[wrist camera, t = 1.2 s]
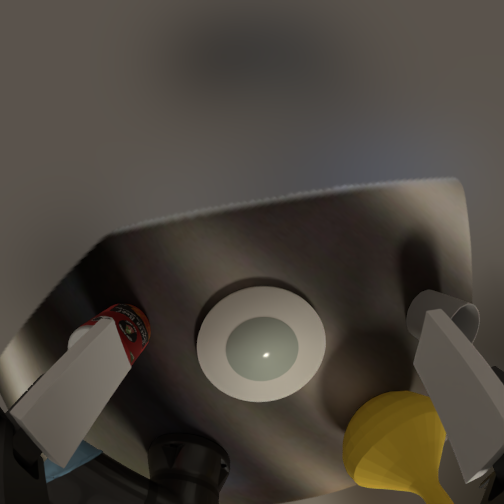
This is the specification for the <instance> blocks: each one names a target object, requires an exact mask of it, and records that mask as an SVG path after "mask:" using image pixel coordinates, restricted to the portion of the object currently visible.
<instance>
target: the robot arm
mask: <svg viewBox="0 0 504 504" xmlns="http://www.w3.org/2000/svg"><path fill="white" fill-rule="evenodd" d="M413 365H414V367H415V369H416V371H417V373H418V375H419V376H420V378H421V380H422V382H423V384H424V386H425V388H426V390H427V392H428V394H429V397H430V399H431V401H432V403H433V405H434V407H435V409H436V411H437V413H438V416H439V418H440V420H441V422H442V425H443V427H444V429H445V431H446V434H447V436H448V439H449V441H450V443H451V446H452V448H453V451H454V453H455V456H456V458H457V461H458V463H459V466H460V469H461V472H462V474H463V478H464V480H465V483H468V482H471V481H473V480H474V479H476V478H478V477H480V476H482V475H484V474H485V473H486V472H487V471H488V470H489V469H490V468H491V467H492V466H493V468H494V470H495V471H494V472H493V473H492V474H490V475H489V476H488V477H487V478H486V479H485V480H484V481H483V482H482V483H481V485H480V486H479V488H482V487H483V486H484V485H485V484H486V483H488V485H487V486H486V487H485V489H486V491H485V493H484V496H483V499H482V501H481V504H504V372H503V371H502V370H500V369H499V368H497V367H496V366H493V367H490V366H489V365H488V363H487V362H486V361H485V360H484V358H483V357H482V356H481V354H480V353H479V352H478V351H477V349H476V348H475V347H474V346H473V345H472V343H471V342H470V341H469V340H468V339H467V337H466V336H465V335H464V334H463V333H462V331H461V330H460V329H459V328H458V327H457V326H456V325H455V323H454V322H453V321H452V320H451V319H450V318H449V317H448V316H447V315H446V313H445V312H444V311H443V310H442V309H436V310H429V311H426V315H425V320H424V324H423V328H422V333H421V337H420V340H419V344H418V348H417V351H416V355H415V358H414V362H413ZM130 369H131V365H130V363H129V360H128V358H127V355H126V353H125V350H124V347H123V345H122V342H121V339H120V336H119V334H118V331H117V328H116V325H115V322H114V320H112V319H100V320H99V321H98V322H97V323H96V324H95V325H94V326H93V327H92V328H91V329H90V330H88V331H87V332H86V333H85V334H84V335H83V336H82V337H81V338H80V339H79V340H78V341H77V342H76V343H75V344H74V345H73V346H72V347H71V348H70V349H69V350H68V351H67V352H66V353H65V354H64V355H63V356H62V357H61V358H60V359H59V360H58V361H57V362H56V363H55V364H54V365H53V366H52V367H51V368H50V369H49V370H48V371H47V372H46V373H44V374H43V375H41V376H40V377H39V378H38V379H37V380H36V381H35V382H34V383H33V385H31V386H30V387H29V388H28V391H26V392H25V393H24V394H23V395H22V396H21V397H20V398H19V399H18V400H17V401H16V402H15V404H14V405H13V406H12V407H11V408H10V409H9V410H8V411H7V412H6V413H4V412H3V410H2V409H1V408H0V504H219V492H220V491H221V489H222V487H223V485H224V483H225V481H226V479H227V477H228V475H229V472H230V459H229V456H228V454H227V453H226V452H225V450H224V449H223V448H221V447H220V446H219V445H217V444H216V443H214V442H212V441H210V440H208V439H206V438H203V437H200V436H196V435H192V434H185V433H172V434H166V435H163V436H160V437H158V438H157V439H155V440H154V441H153V442H152V444H151V446H150V449H149V452H148V465H149V473H150V479H148V478H146V477H144V476H142V475H140V474H138V473H136V472H135V471H133V470H131V469H129V468H127V467H126V466H124V465H122V464H121V463H119V462H117V461H116V460H114V459H112V458H111V457H109V456H108V455H106V454H104V453H103V451H102V450H98V449H97V448H95V447H93V446H92V445H90V444H89V443H87V442H86V441H84V440H83V438H84V437H85V435H86V434H87V432H88V431H89V429H90V428H91V426H92V424H93V423H94V421H95V420H96V418H97V417H98V415H99V414H100V412H101V411H102V410H103V408H104V407H105V405H106V404H107V402H108V401H109V399H110V398H111V396H112V395H113V393H114V392H115V390H116V389H117V387H118V386H119V385H120V383H121V382H122V380H123V379H124V377H125V376H126V374H127V373H128V372H129V370H130ZM42 452H43V453H44V454H45V455H46V457H47V460H46V461H45V462H44V461H43V458H42V457H41V456H40V455H41V453H42Z"/></svg>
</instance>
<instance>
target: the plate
mask: <svg viewBox="0 0 504 504" xmlns="http://www.w3.org/2000/svg"><path fill="white" fill-rule="evenodd" d="M325 346H326V338H325V331H324V327H323V324H322V322H321V319H320V318H319V316H318V314H317V313H316V311H315V310H314V309H313V308H312V307H311V305H310V304H309V303H307V302H306V301H305V300H304V299H303V298H301V297H300V296H299V295H297V294H295V293H293V292H291V291H289V290H286V289H283V288H279V287H275V286H253V287H247V288H244V289H240V290H237V291H235V292H233V293H231V294H229V295H227V296H226V297H224V298H223V299H221V300H220V301H219V302H218V303H216V304H215V305H214V307H213V308H212V309H211V310H210V311H209V313H208V314H207V315H206V317H205V319H204V321H203V323H202V325H201V328H200V331H199V334H198V339H197V354H198V359H199V363H200V366H201V368H202V370H203V372H204V373H205V375H206V377H207V378H208V379H209V380H210V382H211V383H212V384H213V385H215V386H216V387H217V388H218V389H219V390H221V391H222V392H224V393H226V394H228V395H229V396H232V397H234V398H237V399H241V400H244V401H251V402H266V401H273V400H277V399H280V398H284V397H286V396H288V395H291V394H292V393H294V392H296V391H298V390H299V389H300V388H302V387H303V386H304V385H305V384H307V383H308V382H309V381H310V380H311V378H312V377H313V376H314V375H315V373H316V372H317V370H318V369H319V367H320V365H321V363H322V360H323V357H324V353H325Z"/></svg>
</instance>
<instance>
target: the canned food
mask: <svg viewBox="0 0 504 504" xmlns="http://www.w3.org/2000/svg"><path fill="white" fill-rule="evenodd" d="M100 319H112V320H114V322H115V325H116V328H117V331H118V334H119V336H120V339H121V342H122V345H123V347H124V350H125V353H126V355H127V358H128V360H129V363H130V365H131V366H132V365H133V363H134V362H135V360H136V359H137V358H138V356H139V355H140V354H141V352H142V351H143V349H144V348H145V347H146V345H147V344H148V342H149V339H150V332H151V330H150V324H149V321H148V319H147V317H146V316H145V314H144V313H143V312H142V311H141V310H140V309H138V308H137V307H135V306H133V305H130V304H115V305H113V306H111V307H109V308H108V309H106V310H104V311H103V312H101V313H100V314H98V315H97V316H95V317H94V318H92V319H91V320H89V321H88V322H86V323H84V324H83V325H82V326H80V327H79V328H77V329H76V330H75V331H74V332H73V333H72V335H71V336H70V338H69V341H68V350H69V349H70V348H71V347H72V346H73V345H74V344H75V343H76V342H77V341H78V340H79V339H80V338H81V337H82V336H83V335H84V334H85V333H86V332H87V331H88V330H90V329H91V328H92V327H93V326H94V325H95V324H96V323H97V322H98V321H99V320H100Z"/></svg>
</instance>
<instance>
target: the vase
mask: <svg viewBox="0 0 504 504" xmlns="http://www.w3.org/2000/svg"><path fill="white" fill-rule="evenodd" d="M445 436H446V431H445V429H444V427H443V425H442V422H441V420H440V418H439V416H438V413H437V411H436V409H435V407H434V405H433V403H432V401H431V399H430V397H427V396H424V395H421V394H417V393H414V392H410V391H391V392H387V393H383V394H381V395H379V396H376V397H374V398H372V399H370V400H369V401H368V402H366V403H365V404H364V405H363V406H362V407H360V408H359V409H358V410H357V412H356V413H355V414H354V416H353V417H352V418H351V420H350V422H349V424H348V426H347V429H346V432H345V434H344V439H343V462H344V466H345V468H346V471H347V473H348V474H349V475H350V477H351V478H352V479H353V480H354V481H355V482H356V483H357V484H358V485H359V486H363V487H366V488H378V489H391V490H399V491H410V492H413V493H416V494H418V495H419V496H421V497H422V498H423V499H424V501H425V502H426V504H454V503H453V501H452V500H451V499H450V497H449V496H448V494H447V493H446V492H445V491H444V489H443V488H442V487H441V485H440V483H439V480H438V469H439V464H440V459H441V454H442V449H443V445H444V441H445Z"/></svg>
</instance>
